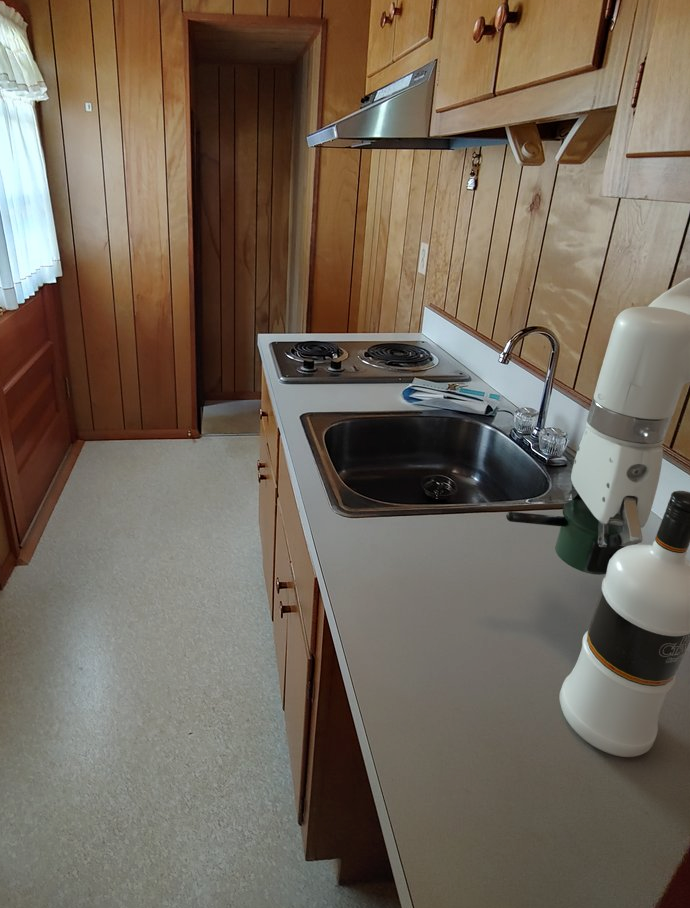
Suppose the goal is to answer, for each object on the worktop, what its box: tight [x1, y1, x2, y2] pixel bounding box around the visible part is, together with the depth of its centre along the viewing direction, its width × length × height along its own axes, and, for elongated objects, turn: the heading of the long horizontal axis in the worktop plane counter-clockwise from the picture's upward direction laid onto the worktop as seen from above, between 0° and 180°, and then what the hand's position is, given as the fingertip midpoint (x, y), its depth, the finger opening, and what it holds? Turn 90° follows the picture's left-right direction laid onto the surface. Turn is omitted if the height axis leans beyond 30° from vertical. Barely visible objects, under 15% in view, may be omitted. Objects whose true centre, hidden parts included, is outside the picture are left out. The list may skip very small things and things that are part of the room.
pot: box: [505, 499, 621, 576], centre depth 67 cm, size 14×7×6 cm, turn 82°
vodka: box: [558, 490, 690, 758], centre depth 56 cm, size 9×9×30 cm
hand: (586, 548), depth 68 cm, fingers closed on pot, 7 cm apart
